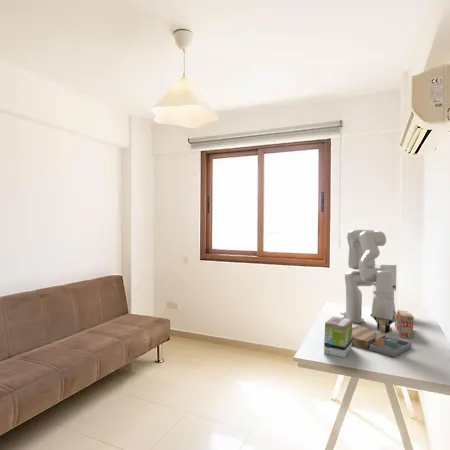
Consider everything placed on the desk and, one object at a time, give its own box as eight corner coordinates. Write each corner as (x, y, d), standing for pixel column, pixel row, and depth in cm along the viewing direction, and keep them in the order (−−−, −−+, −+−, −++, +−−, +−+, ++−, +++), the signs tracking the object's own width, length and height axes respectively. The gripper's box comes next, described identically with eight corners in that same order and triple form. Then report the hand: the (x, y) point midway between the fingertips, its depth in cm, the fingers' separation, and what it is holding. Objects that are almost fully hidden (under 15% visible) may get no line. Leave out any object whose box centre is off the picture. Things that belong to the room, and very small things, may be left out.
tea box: (345, 358, 153) (346, 326, 153) (323, 353, 158) (323, 322, 158) (352, 348, 166) (352, 318, 166) (331, 344, 171) (332, 315, 171)
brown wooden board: (337, 340, 176) (337, 333, 176) (356, 333, 190) (356, 326, 190) (367, 349, 164) (367, 341, 164) (385, 340, 178) (385, 333, 178)
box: (369, 350, 164) (369, 345, 164) (387, 341, 177) (387, 336, 177) (394, 357, 155) (394, 352, 155) (411, 347, 168) (411, 342, 168)
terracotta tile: (375, 338, 165) (380, 340, 163) (379, 336, 168) (384, 338, 166) (375, 347, 165) (380, 349, 163) (379, 345, 168) (384, 347, 166)
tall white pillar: (395, 317, 225) (396, 265, 225) (379, 316, 225) (380, 264, 225) (387, 312, 236) (388, 263, 236) (372, 312, 236) (373, 262, 236)
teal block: (394, 342, 166) (394, 347, 166) (398, 340, 169) (398, 345, 169) (385, 340, 169) (385, 345, 169) (389, 338, 172) (389, 343, 172)
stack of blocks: (394, 326, 204) (394, 306, 204) (406, 327, 202) (406, 307, 202) (400, 337, 184) (400, 315, 184) (413, 338, 182) (413, 316, 182)
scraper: (372, 337, 164) (373, 321, 164) (387, 331, 175) (387, 316, 175) (378, 339, 162) (379, 322, 162) (393, 332, 172) (393, 317, 173)
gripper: (364, 293, 172) (364, 329, 172) (397, 299, 160) (397, 337, 160) (371, 291, 177) (370, 326, 177) (404, 297, 165) (403, 334, 165)
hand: (383, 331), depth 168 cm, fingers closed on scraper, 3 cm apart
